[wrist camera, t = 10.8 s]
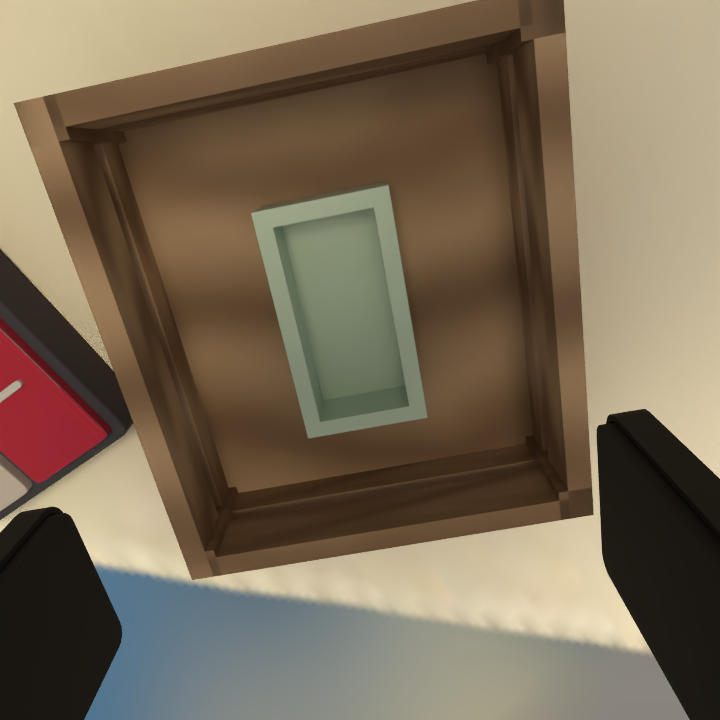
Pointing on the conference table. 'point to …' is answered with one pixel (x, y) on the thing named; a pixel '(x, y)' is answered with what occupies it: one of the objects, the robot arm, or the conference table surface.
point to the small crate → (342, 308)
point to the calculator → (48, 394)
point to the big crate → (419, 263)
